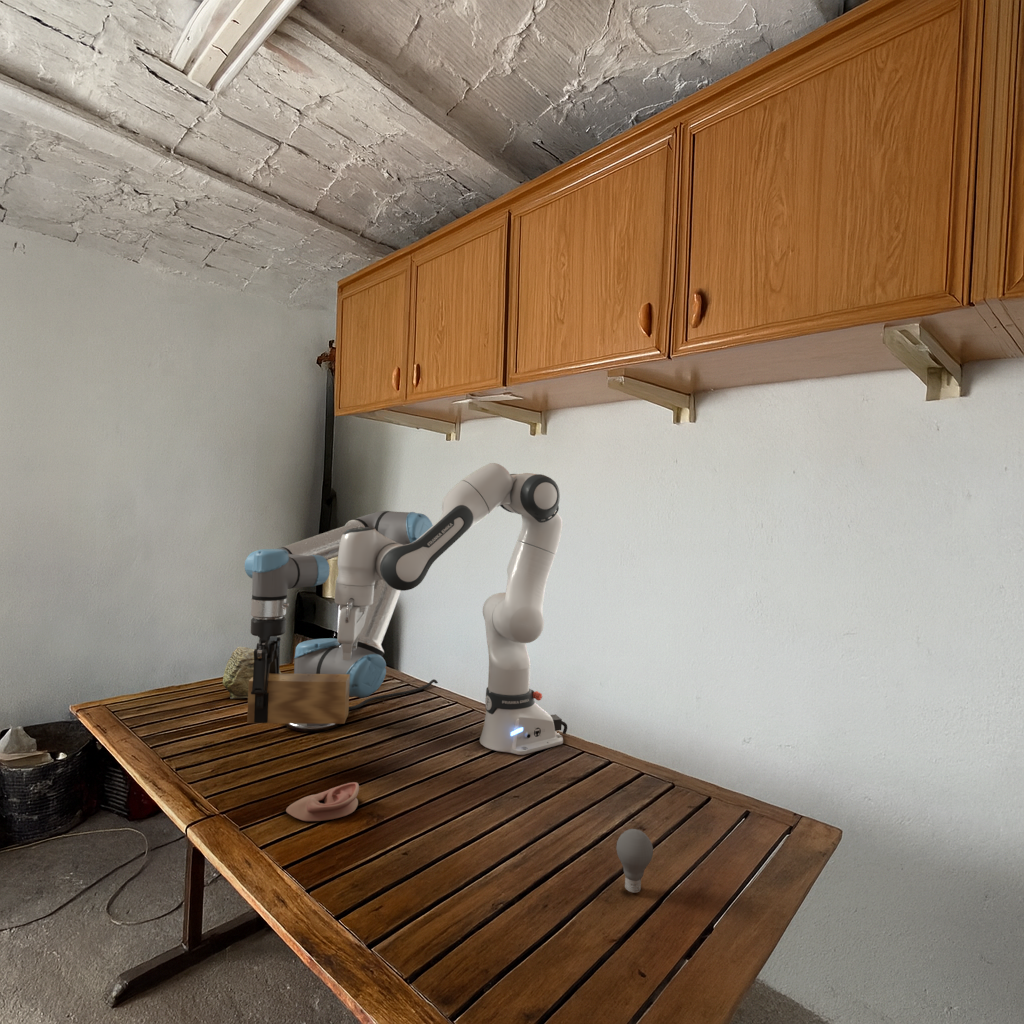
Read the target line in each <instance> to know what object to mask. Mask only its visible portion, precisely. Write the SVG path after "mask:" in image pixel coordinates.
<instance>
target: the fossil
mask: <svg viewBox="0 0 1024 1024" xmlns="http://www.w3.org/2000/svg"><path fill="white" fill-rule="evenodd" d="M254 649H255V648H251V647H247V646H246V647H245V646H238V647H237V648H236V649H235V650H233V651H232V653H231V656H230V657H229V659H228V660H227V663H226V666H225V668H224V671H223V675H222V676H223V677H222V685H223V687H224V688H225V690H226V691H228V693H229V698H230V699H248V685H249V680H250V679H251V678H252V677H253V670H254ZM279 673H282V672H281V669H279Z"/></svg>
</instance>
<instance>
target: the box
mask: <svg viewBox="0 0 1024 1024" xmlns="http://www.w3.org/2000/svg"><path fill="white" fill-rule="evenodd" d="M349 686H350V674H294V673H283V672H281V673H269V680H268V688H267V693H269V695H268V722H267V723H266V724H286V723H304V724H340V725H345V723H346V721H347V718H348V716H349V711H350V710H349V707H350V696H349ZM252 687H253V677H252V678H251V679H250V680H249V685H248V698H247V715H246V716H247V718H246V724H255V723H254V712H255V694H251V692H252Z"/></svg>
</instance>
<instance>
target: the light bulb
mask: <svg viewBox="0 0 1024 1024" xmlns="http://www.w3.org/2000/svg"><path fill="white" fill-rule="evenodd" d="M615 849H616V854H617V857H618V859H619V861H620V863H621V865H622V867H623V873H624V874H623V875H624V876H625V878H624V888H625V890H627V891H628V892H630V893H634V894H635V893H639V892H640V891H641V889H642V887H641V886H642V879H643V877H644V875H645V871H646V868H647V867H648V866H649V864H650V863H651V861H652V859H653V855H654V847H653V843H652V841H651V838H649V836H648V835H647V834H646V833H645V832H643V831H642V830H641V829H636V828H629V829H627V830H625V831H623V832H622V833H621V834H620V835H619V837H618V839H617V841H616V847H615Z"/></svg>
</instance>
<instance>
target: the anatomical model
mask: <svg viewBox="0 0 1024 1024" xmlns="http://www.w3.org/2000/svg"><path fill="white" fill-rule="evenodd" d="M359 792H360V785H359V783H358V782H355V781H352V782H347V783H344V784H341V785H338V786H335V787H332V788H329V789H327V790H324V791H321V792H319V793H316V794H311V795H307V796H304V797H302V798H300V799H298V800H296V801H294V802H293V803H291V804H289V806H287V807H286V809H285V812H286V813H287V814H288V815H289V816H291V817H293V818H295V819H297V820H300V821H303V822H321V821H329V820H334V819H339V818H342V817H346V816H348V815H351V814H353V812H355V811H356V809H357V808H358V805H359V799H358V798H357V796H358V795H359Z"/></svg>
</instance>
